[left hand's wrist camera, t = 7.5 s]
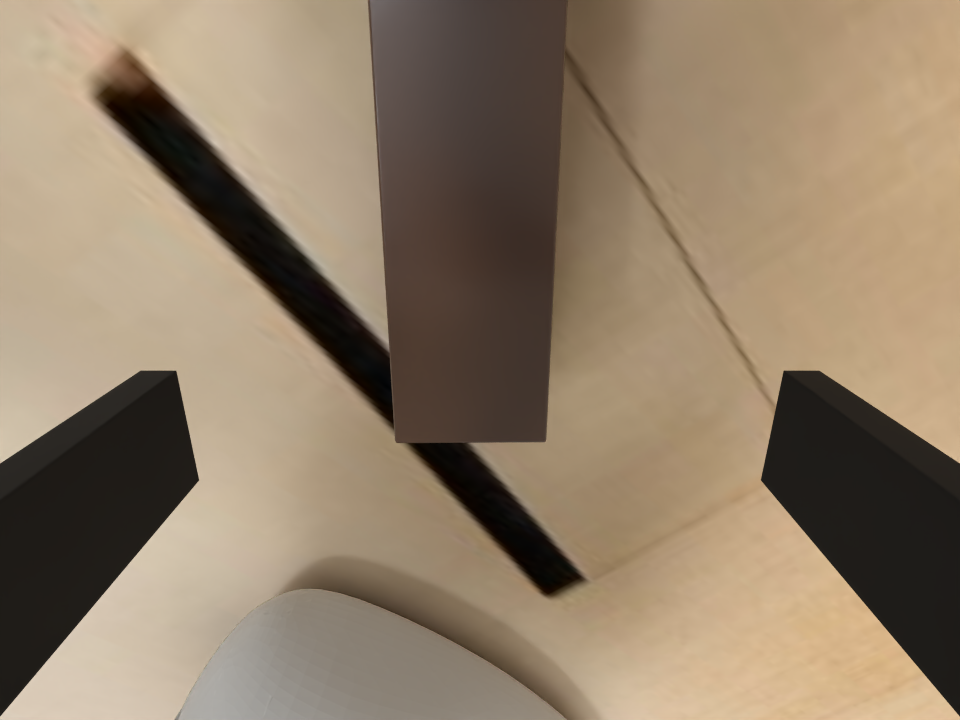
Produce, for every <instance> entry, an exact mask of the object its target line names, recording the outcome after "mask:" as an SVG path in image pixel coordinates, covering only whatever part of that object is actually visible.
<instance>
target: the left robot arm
mask: <svg viewBox="0 0 960 720" xmlns="http://www.w3.org/2000/svg"><path fill="white" fill-rule="evenodd" d="M198 481H199V478H198V473H197V468H196V463H195V459H194V454H193V449H192V444H191V439H190V435H189V430H188V425H187V420H186V415H185V411H184V406H183V401H182V396H181V391H180V387H179V382H178V377H177V372H176V371H140V372H138V373H137V374H135V375H134V376H132V377H131V378H129V379H128V380H126V381H125V382H123V383H122V384H120V385H118V386H117V387H115V388H114V389H112V390H111V391H109V392H108V393H106V394H105V395H103V396H102V397H100V398H99V399H97V400H96V401H94V402H93V403H91V404H90V405H88V406H87V407H85V408H84V409H82V410H81V411H79V412H78V413H76V414H75V415H73V416H72V417H70V418H69V419H67V420H65V421H64V422H62V423H61V424H59V425H58V426H56V427H55V428H53V429H52V430H50V431H49V432H47V433H46V434H44V435H43V436H41V437H40V438H38V439H37V440H35V441H34V442H32V443H31V444H29V445H28V446H26V447H25V448H23V449H22V450H20V451H19V452H17V453H16V454H14V455H13V456H11V457H9V458H8V459H6V460H5V461H3V462H2V463H0V716H1V715H2V714H3V712H4V711H5V710H6V709H7V708H8V706H9V705H10V704H11V703H12V702H13V701H14V699H15V698H16V697H17V696H18V695H19V693H20V692H21V691H22V690H23V689H24V687H25V686H26V685H27V684H28V683H29V682H30V680H31V679H32V678H33V677H34V676H35V674H36V673H37V672H38V671H39V670H40V668H41V667H42V666H43V665H44V664H45V663H46V661H47V660H48V659H49V658H50V657H51V655H52V654H53V653H54V652H55V651H56V649H57V648H58V647H59V646H60V645H61V644H62V642H63V641H64V640H65V639H66V638H67V636H68V635H69V634H70V633H71V632H72V630H73V629H74V628H75V627H76V626H77V625H78V623H79V622H80V621H81V620H82V619H83V617H84V616H85V615H86V614H87V613H88V611H89V610H90V609H91V608H92V607H93V606H94V604H95V603H96V602H97V601H98V600H99V598H100V597H101V596H102V595H103V594H104V593H105V591H106V590H107V589H108V588H109V587H110V585H111V584H112V583H113V582H114V581H115V579H116V578H117V577H118V576H119V575H120V574H121V572H122V571H123V570H124V569H125V568H126V566H127V565H128V564H129V563H130V562H131V560H132V559H133V558H134V557H135V556H136V555H137V553H138V552H139V551H140V550H141V549H142V547H143V546H144V545H145V544H146V543H147V541H148V540H149V539H150V538H151V537H152V536H153V534H154V533H155V532H156V531H157V530H158V528H159V527H160V526H161V525H162V524H163V522H164V521H165V520H166V519H167V518H168V517H169V515H170V514H171V513H172V512H173V511H174V509H175V508H176V507H177V506H178V505H179V503H180V502H181V501H182V500H183V499H184V498H185V496H186V495H187V494H188V493H189V492H190V490H191V489H192V488H193V487H194V486H195V484H196V483H197V482H198ZM761 481H762V482H763V483H764V484H765V486H766V487H767V488H768V489H769V490H770V492H771V493H772V494H773V495H774V496H775V498H776V499H777V500H778V501H779V502H780V503H781V505H782V506H783V507H784V508H785V509H786V511H787V512H788V513H789V514H790V515H791V517H792V518H793V519H794V520H795V521H796V522H797V524H798V525H799V526H800V527H801V528H802V530H803V531H804V532H805V533H806V534H807V536H808V537H809V538H810V539H811V540H812V541H813V543H814V544H815V545H816V546H817V547H818V549H819V550H820V551H821V552H822V553H823V555H824V556H825V557H826V558H827V559H828V560H829V562H830V563H831V564H832V565H833V566H834V568H835V569H836V570H837V571H838V572H839V574H840V575H841V576H842V577H843V578H844V579H845V581H846V582H847V583H848V584H849V585H850V587H851V588H852V589H853V590H854V591H855V593H856V594H857V595H858V596H859V597H860V598H861V600H862V601H863V602H864V603H865V604H866V606H867V607H868V608H869V609H870V610H871V611H872V613H873V614H874V615H875V616H876V617H877V619H878V620H879V621H880V622H881V623H882V625H883V626H884V627H885V628H886V629H887V630H888V632H889V633H890V634H891V635H892V636H893V638H894V639H895V640H896V641H897V642H898V644H899V645H900V646H901V647H902V648H903V649H904V651H905V652H906V653H907V654H908V655H909V657H910V658H911V659H912V660H913V661H914V663H915V664H916V665H917V666H918V667H919V668H920V670H921V671H922V672H923V673H924V674H925V676H926V677H927V678H928V679H929V680H930V682H931V683H932V684H933V685H934V686H935V687H936V689H937V690H938V691H939V692H940V693H941V695H942V696H943V697H944V698H945V699H946V701H947V702H948V703H949V704H950V705H951V706H952V708H953V709H954V710H955V711H956V712H957V714H958V715H959V716H960V463H958V462H957V461H955V460H954V459H952V458H951V457H949V456H947V455H946V454H944V453H943V452H941V451H940V450H938V449H937V448H935V447H934V446H932V445H931V444H929V443H928V442H926V441H925V440H923V439H922V438H920V437H919V436H917V435H916V434H914V433H913V432H911V431H910V430H908V429H907V428H905V427H904V426H902V425H901V424H899V423H898V422H896V421H895V420H893V419H891V418H890V417H888V416H887V415H885V414H884V413H882V412H881V411H879V410H878V409H876V408H875V407H873V406H872V405H870V404H869V403H867V402H866V401H864V400H863V399H861V398H860V397H858V396H857V395H855V394H854V393H852V392H851V391H849V390H848V389H846V388H845V387H843V386H842V385H840V384H838V383H837V382H835V381H834V380H832V379H831V378H829V377H828V376H826V375H825V374H823V373H822V372H820V371H784V372H783V377H782V382H781V387H780V391H779V396H778V401H777V406H776V411H775V415H774V420H773V425H772V430H771V435H770V439H769V444H768V449H767V454H766V459H765V463H764V468H763V473H762V478H761Z"/></svg>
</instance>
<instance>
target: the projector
mask: <svg viewBox="0 0 960 720" xmlns="http://www.w3.org/2000/svg"><path fill="white" fill-rule="evenodd" d="M175 720H567V719H566V718H564V717H563V716H562V715H561V714H560V713H559V712H558V711H556V710H555V709H554V708H553V707H552V706H550V705H549V704H548V703H547V702H545V701H544V700H543V699H541V698H540V697H539V696H538V695H536V694H535V693H534V692H532V691H531V690H530V689H528V688H527V687H525V686H524V685H523V684H521V683H520V682H518V681H517V680H515V679H514V678H513V677H511V676H510V675H508V674H507V673H505V672H504V671H502V670H500V669H499V668H497V667H496V666H494V665H493V664H491V663H489V662H488V661H486V660H485V659H483V658H481V657H479V656H478V655H476V654H474V653H472V652H471V651H469V650H467V649H465V648H464V647H462V646H460V645H458V644H456V643H454V642H453V641H451V640H449V639H447V638H445V637H443V636H441V635H439V634H437V633H435V632H433V631H431V630H429V629H427V628H425V627H423V626H421V625H419V624H417V623H415V622H412V621H410V620H408V619H406V618H404V617H402V616H399V615H397V614H395V613H393V612H390V611H388V610H386V609H383V608H381V607H378V606H376V605H373V604H371V603H368V602H365V601H363V600H360V599H357V598H354V597H351V596H348V595H344V594H341V593H337V592H332V591H327V590H322V589H298V590H294V591H289V592H286V593H283V594H281V595H278V596H276V597H274V598H272V599H270V600H268V601H266V602H264V603H263V604H261V605H259V606H258V607H256V608H255V609H254V610H253V611H251V612H250V613H249V614H248V615H247V616H246V617H245V618H244V619H243V620H242V621H241V622H240V623H239V624H238V625H237V626H236V627H235V628H234V630H233V631H232V632H231V633H230V634H229V636H228V637H227V638H226V639H225V640H224V641H223V643H222V644H221V645H220V647H219V648H218V649H217V651H216V652H215V654H214V655H213V656H212V658H211V659H210V661H209V662H208V664H207V665H206V667H205V668H204V670H203V672H202V673H201V675H200V676H199V678H198V680H197V681H196V683H195V685H194V686H193V688H192V690H191V691H190V693H189V695H188V697H187V699H186V701H185V703H184V705H183V708H182V709H181V710H180V712H179V713H178V715H177V717H176V718H175Z"/></svg>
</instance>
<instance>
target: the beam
mask: <svg viewBox="0 0 960 720" xmlns="http://www.w3.org/2000/svg"><path fill="white" fill-rule="evenodd" d="M368 10H369V26H370V42H371V58H372V74H373V90H374V107H375V123H376V139H377V155H378V171H379V188H380V204H381V220H382V236H383V252H384V268H385V285H386V301H387V317H388V333H389V349H390V366H391V382H392V398H393V414H394V430H395V441H396V443H470V442H545V441H546V434H547V413H548V392H549V372H550V351H551V330H552V310H553V289H554V268H555V248H556V227H557V207H558V186H559V165H560V145H561V124H562V103H563V83H564V62H565V41H566V21H567V0H368Z"/></svg>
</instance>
